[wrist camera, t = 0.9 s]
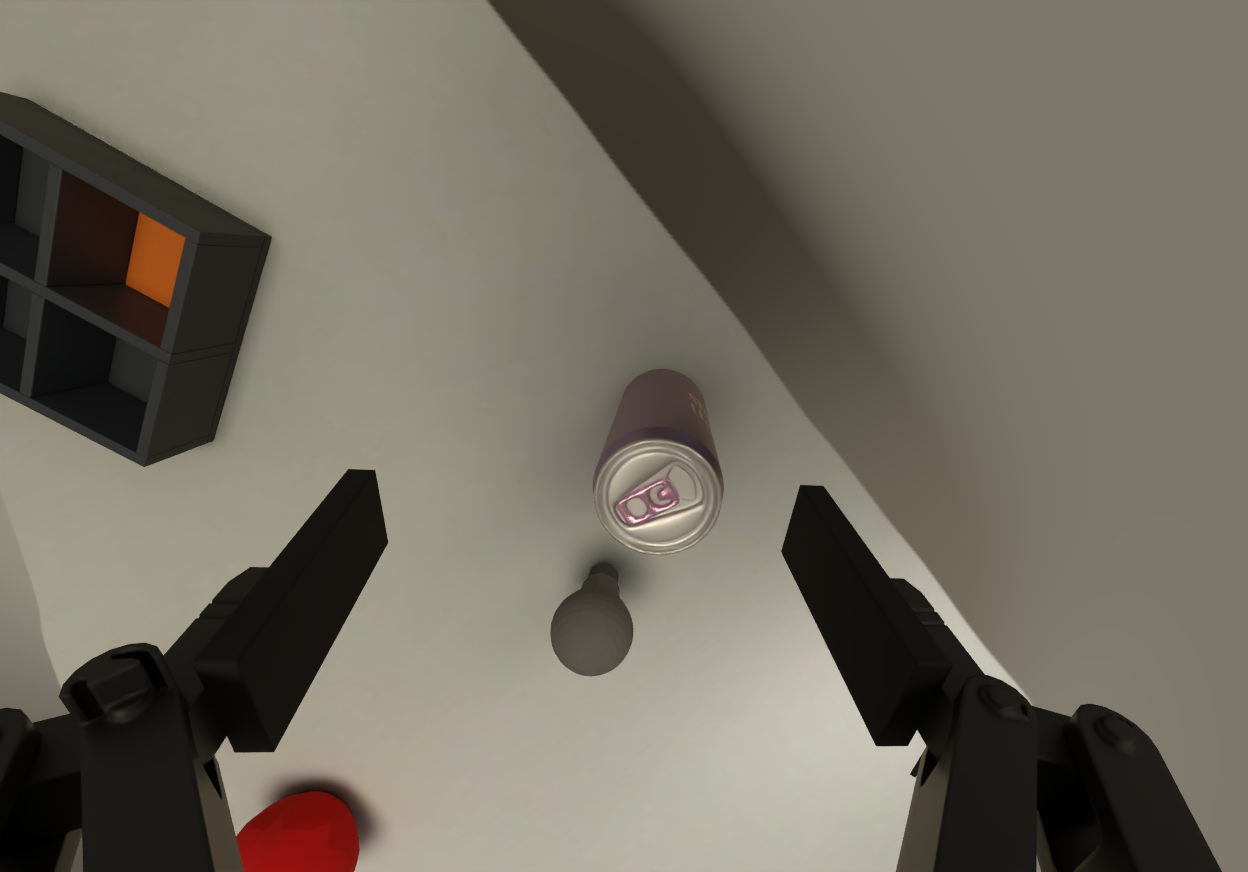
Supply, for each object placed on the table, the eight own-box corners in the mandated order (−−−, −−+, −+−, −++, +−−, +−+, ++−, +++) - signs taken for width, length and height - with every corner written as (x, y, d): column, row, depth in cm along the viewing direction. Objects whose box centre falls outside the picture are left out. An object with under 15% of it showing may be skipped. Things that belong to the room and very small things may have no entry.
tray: (27, 98, 33) (-94, 67, 28) (271, 237, 35) (200, 231, 29) (1, 330, 39) (-104, 340, 34) (213, 441, 40) (144, 467, 35)
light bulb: (558, 558, 41) (524, 645, 31) (615, 528, 40) (598, 610, 30) (595, 608, 42) (573, 707, 33) (652, 581, 41) (646, 676, 31)
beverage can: (605, 393, 36) (563, 474, 22) (678, 351, 35) (684, 410, 21) (647, 461, 38) (632, 579, 23) (719, 423, 36) (750, 525, 22)
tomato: (391, 797, 52) (319, 932, 41) (364, 861, 56) (292, 1001, 45) (281, 752, 51) (179, 879, 41) (261, 821, 55) (164, 953, 44)
